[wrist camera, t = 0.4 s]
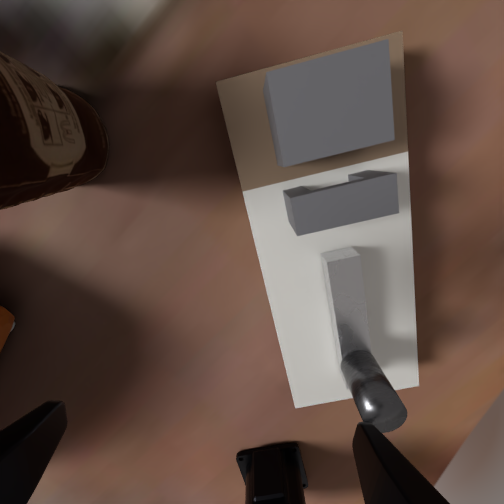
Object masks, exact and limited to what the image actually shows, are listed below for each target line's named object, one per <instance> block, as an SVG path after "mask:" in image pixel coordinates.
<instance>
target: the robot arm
mask: <svg viewBox="0 0 504 504" xmlns="http://www.w3.org/2000/svg"><path fill="white" fill-rule="evenodd" d="M66 427H67V415H66V408H65V403H64V402H63V401H54V400H50V401H47V402H45V403H44V404H42V405H41V406H39V407H37V408H36V409H34V410H33V411H31V412H30V413H28V414H26V415H25V416H23V417H22V418H20V419H19V420H17V421H15V422H14V423H12V424H11V425H9V426H7V427H6V428H4V429H3V430H1V431H0V504H27V502H28V501H29V499H30V497H31V495H32V494H33V492H34V490H35V489H36V487H37V485H38V483H39V481H40V479H41V477H42V475H43V473H44V471H45V469H46V467H47V465H48V463H49V461H50V459H51V457H52V456H53V454H54V452H55V450H56V448H57V446H58V444H59V442H60V440H61V438H62V436H63V434H64V432H65V430H66ZM352 445H353V452H354V457H355V461H356V466H357V470H358V475H359V479H360V484H361V488H362V493H363V497H364V501H365V504H450V503H449V502H448V501H447V500H446V499H445V498H444V497H443V496H442V495H441V494H440V493H439V492H438V491H437V490H436V489H435V488H434V487H433V486H432V485H431V484H430V483H429V481H428V480H427V479H426V478H425V477H424V476H423V475H422V474H421V473H420V472H419V471H418V470H417V469H416V468H415V467H414V466H413V465H412V464H411V463H410V462H409V461H408V460H407V459H406V458H405V457H404V456H403V455H402V454H401V452H400V451H399V450H398V449H397V448H396V447H395V446H394V445H393V444H392V443H391V442H390V441H389V440H388V439H387V438H386V437H385V436H384V435H383V434H382V433H381V432H380V431H379V430H378V429H377V428H376V427H375V426H374V425H373V424H372V423H366V422H359V423H358V424H357V427H356V431H355V434H354V438H353V443H352ZM236 460H237V463H238V466H239V468H240V471H241V474H242V477H243V479H244V482H245V485H246V500H245V504H306V503H305V497H304V490H303V489H304V488H307V487H308V481H307V477H306V473H305V469H304V465H303V461H302V457H301V453H300V450H299V446H298V444H297V443H289V444H283V445H277V446H271V447H266V448H260V449H254V450H248V451H243V452H238V453H237V455H236Z"/></svg>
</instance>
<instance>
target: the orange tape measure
mask: <svg viewBox="0 0 504 504" xmlns="http://www.w3.org/2000/svg"><path fill="white" fill-rule="evenodd" d="M14 319H15V317H14V316H13V315H12V314H11V313H10V312H9V311H8V310H7V309H5V308H4V307H2V306H0V352H1V350H2V348H3V346H4V344H5V342H6V339H7V337H8V335H9V333H10V332H11V331H12V330H13V328H14V326H15V322H14Z"/></svg>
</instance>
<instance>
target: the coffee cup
mask: <svg viewBox="0 0 504 504" xmlns="http://www.w3.org/2000/svg"><path fill="white" fill-rule="evenodd" d="M108 151H109V142H108V136H107V133H106V130H105V128H104V125H103V123H102V122H101V120H100V118H99V116H98V114H97V113H96V111H95V110H94V108H93V107H92V106H91V105H90V104H88V103H87V102H86V101H85V100H84V99H83V98H81V97H80V96H78V95H76V94H75V93H73V92H71V91H69V90H67V89H64V88H61V87H58V86H57V85H56V84H55V83H53V82H52V81H51V80H50V79H48V78H47V77H46V76H45V75H43V74H41V73H39V72H37V71H35V70H34V69H32V68H30V67H28V66H26V65H25V64H23V63H21V62H19V61H17V60H15V59H13V58H11V57H9V56H7V55H5V54H4V53H2V52H1V51H0V210H1V209H6V208H9V207H13V206H17V205H19V204H21V203H25V202H29V201H34V200H37V199H39V198H41V197H46V196H50V195H52V194H55V193H57V192H63V191H67V190H70V189H72V188H74V187H76V186H79V185H82V184H84V183H86V182H88V181H90V180H92V179H93V178H95V177H96V176H97V175H98V174H100V172H102V171H103V170H104V168H105V166H106V162H107V157H108Z"/></svg>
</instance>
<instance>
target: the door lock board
mask: <svg viewBox="0 0 504 504" xmlns="http://www.w3.org/2000/svg"><path fill="white" fill-rule="evenodd" d="M216 86H217V90H218V94H219V98H220V102H221V106H222V110H223V114H224V119H225V123H226V127H227V131H228V135H229V139H230V143H231V147H232V151H233V155H234V159H235V164H236V168H237V172H238V176H239V180H240V184H241V188H242V192H243V196H244V200H245V204H246V208H247V213H248V217H249V221H250V225H251V229H252V233H253V237H254V241H255V245H256V249H257V253H258V258H259V262H260V266H261V270H262V274H263V278H264V282H265V286H266V290H267V294H268V298H269V302H270V307H271V311H272V315H273V319H274V323H275V327H276V331H277V335H278V339H279V343H280V347H281V352H282V356H283V360H284V364H285V368H286V372H287V376H288V380H289V384H290V388H291V392H292V397H293V401H294V405H295V408H300V407H305V406H311V405H316V404H322V403H327V402H333V401H338V400H344V399H349V398H353V397H352V394H351V392H350V390H349V389H347V388H346V386H345V384H344V381H343V379H342V376H341V374H340V370H339V364H338V358H337V352H336V346H335V340H334V334H333V328H332V321H331V315H330V309H329V303H328V297H327V291H326V285H325V279H324V273H323V267H322V261H321V255H320V253H324V252H329V251H333V250H338V249H342V248H347V247H352V248H353V249H354V250H355V251H356V252H358V253H359V254H360V256H361V265H362V274H363V283H364V292H365V300H366V309H367V318H368V327H369V336H370V344H371V353H372V355H373V356H374V358H375V359H376V361H377V363H378V364H379V366H380V367H381V369H382V371H383V372H384V374H385V375H386V377H387V379H388V380H389V382H390V384H391V385H392V387H393V388H394V390H399V389H404V388H410V387H415V386H419V376H418V354H417V333H416V311H415V290H414V268H413V247H412V225H411V203H410V182H409V160H408V139H407V117H406V96H405V74H404V52H403V31H399V32H396V33H392V34H388V35H385V36H381V37H377V38H374V39H370V40H367V41H363V42H359V43H356V44H352V45H348V46H345V47H341V48H337V49H334V50H330V51H326V52H323V53H319V54H315V55H312V56H308V57H305V58H301V59H297V60H294V61H290V62H286V63H283V64H279V65H275V66H272V67H268V68H264V69H261V70H257V71H253V72H250V73H246V74H242V75H239V76H235V77H232V78H228V79H224V80H221V81H217V82H216Z"/></svg>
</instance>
